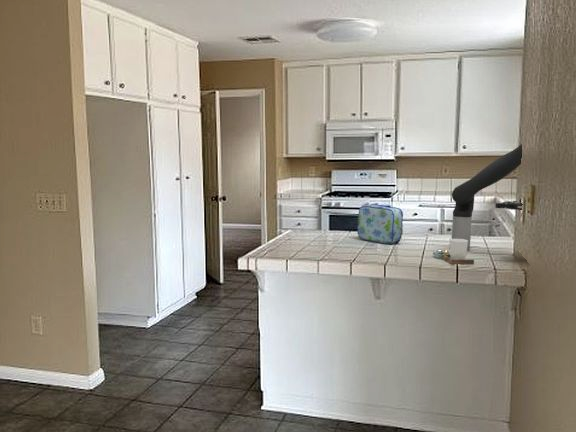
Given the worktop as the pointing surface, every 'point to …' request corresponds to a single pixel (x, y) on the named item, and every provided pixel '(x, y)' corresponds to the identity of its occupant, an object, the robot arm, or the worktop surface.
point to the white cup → (458, 249)
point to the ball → (439, 251)
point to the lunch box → (380, 223)
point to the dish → (439, 255)
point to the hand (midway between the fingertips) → (496, 205)
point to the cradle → (453, 262)
